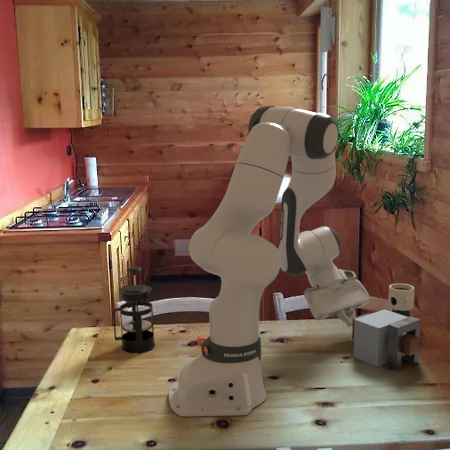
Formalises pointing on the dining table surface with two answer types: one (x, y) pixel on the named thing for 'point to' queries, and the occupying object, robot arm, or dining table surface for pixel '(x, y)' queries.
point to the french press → (135, 318)
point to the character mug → (401, 298)
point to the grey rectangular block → (373, 336)
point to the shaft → (408, 341)
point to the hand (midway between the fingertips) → (353, 324)
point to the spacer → (395, 341)
